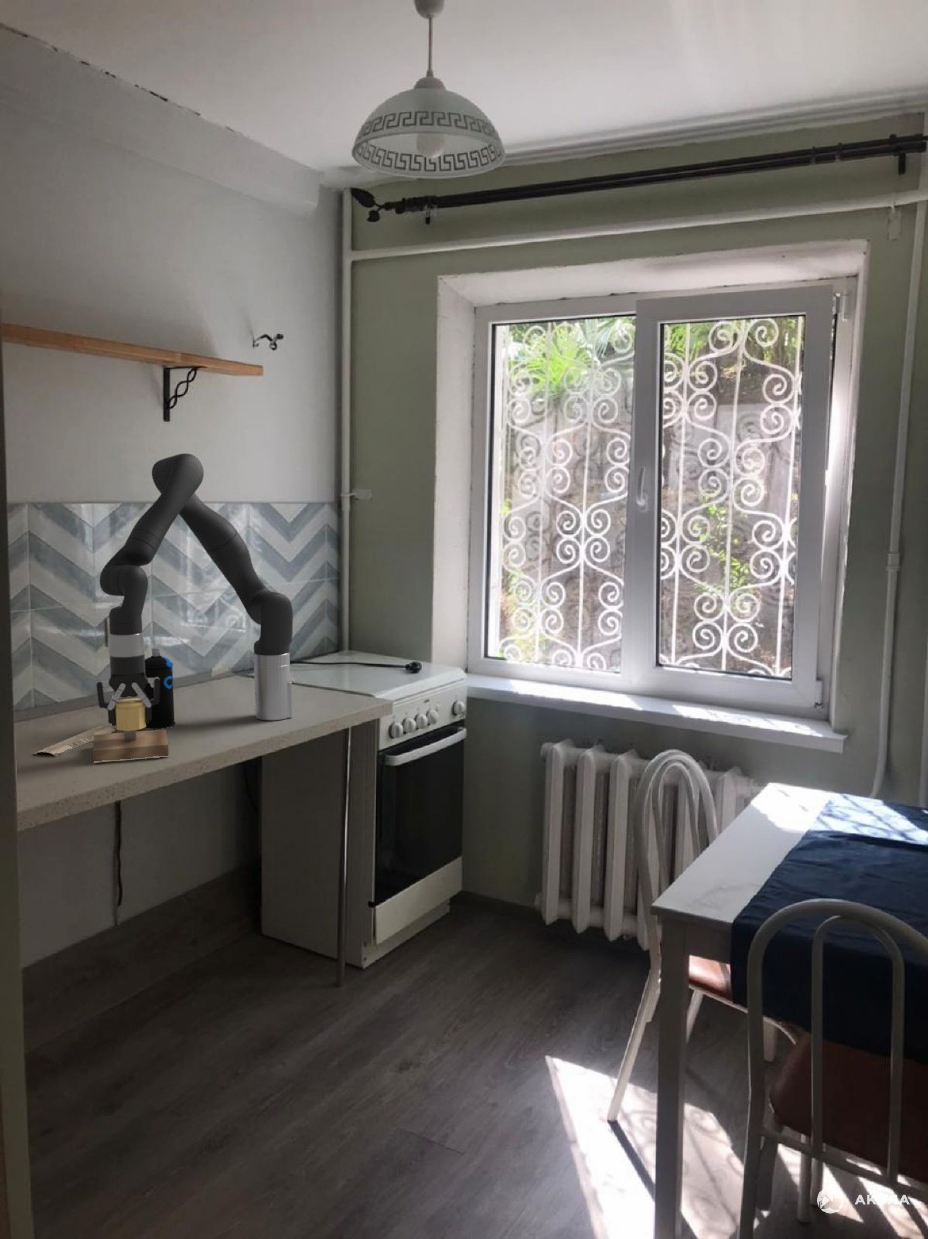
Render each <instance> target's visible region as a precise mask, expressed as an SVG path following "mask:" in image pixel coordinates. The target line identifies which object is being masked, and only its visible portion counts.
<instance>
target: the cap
mask: <svg viewBox="0 0 928 1239" xmlns="http://www.w3.org/2000/svg"><path fill="white" fill-rule="evenodd" d="M113 708H114V712H115V726H114V729H115V730H116V731H123V732H124V731H132V730H136V731H138V730H139V731H140V730H141V729H146V728H145V727H146V717H145V705H144V702H143V701H142V700H141V699H140V698H124V699H123V698H122V699H118V701H117V702H116V704H115V706H114V707H113Z"/></svg>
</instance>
